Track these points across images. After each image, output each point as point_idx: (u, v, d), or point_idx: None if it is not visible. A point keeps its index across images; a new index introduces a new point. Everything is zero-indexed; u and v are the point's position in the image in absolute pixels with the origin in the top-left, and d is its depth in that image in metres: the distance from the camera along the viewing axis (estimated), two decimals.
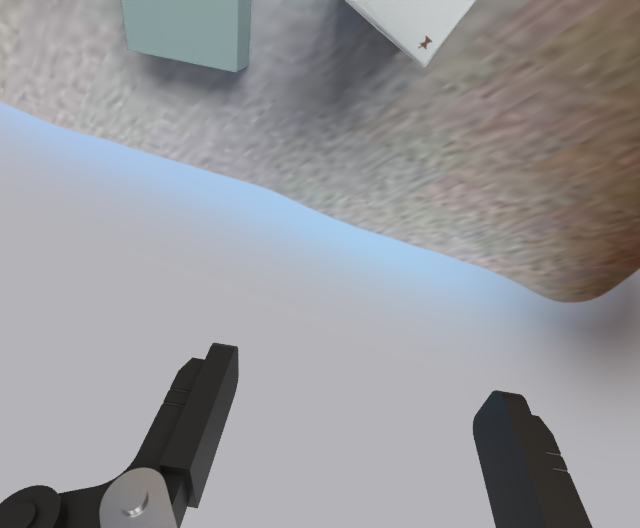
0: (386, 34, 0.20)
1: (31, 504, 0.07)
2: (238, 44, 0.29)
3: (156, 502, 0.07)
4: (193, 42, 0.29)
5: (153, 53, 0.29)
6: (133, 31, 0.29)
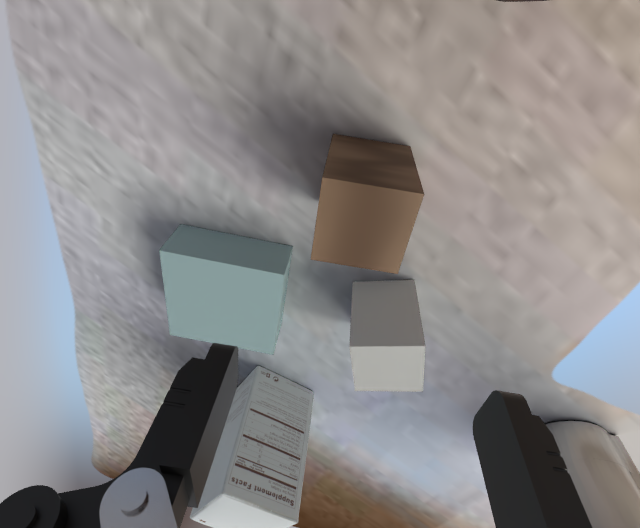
0: (201, 509, 0.30)
1: (31, 504, 0.07)
2: (193, 337, 0.31)
3: (156, 502, 0.07)
4: (185, 309, 0.29)
5: (163, 273, 0.27)
6: (179, 261, 0.26)
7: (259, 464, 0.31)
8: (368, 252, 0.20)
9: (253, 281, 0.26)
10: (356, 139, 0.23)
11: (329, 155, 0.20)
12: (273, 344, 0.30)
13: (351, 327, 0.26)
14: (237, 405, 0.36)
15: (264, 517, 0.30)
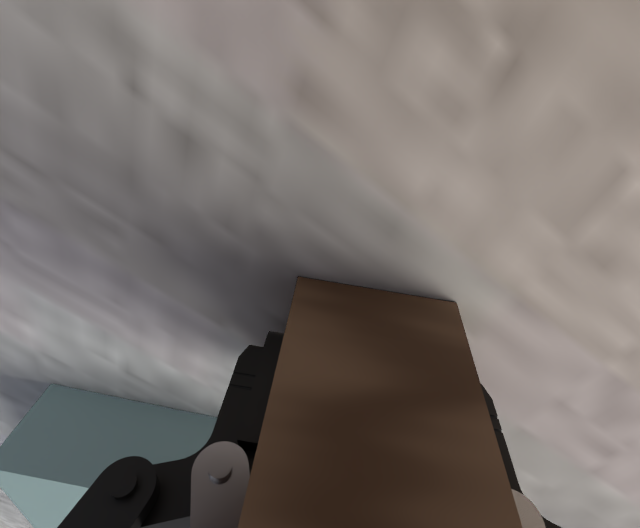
0: None
1: (130, 472, 0.07)
2: None
3: (240, 472, 0.08)
4: (58, 524, 0.17)
5: (5, 490, 0.15)
6: (26, 482, 0.14)
7: None
8: None
9: None
10: (345, 293, 0.11)
11: (276, 386, 0.08)
12: None
13: None
14: None
15: None
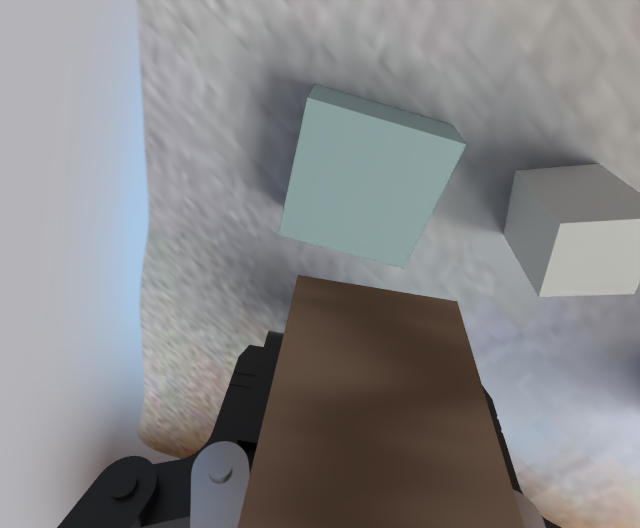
0: None
1: (130, 473, 0.07)
2: (306, 240, 0.25)
3: (241, 472, 0.08)
4: (311, 196, 0.23)
5: (301, 137, 0.20)
6: (329, 117, 0.20)
7: None
8: None
9: (420, 154, 0.20)
10: (346, 292, 0.11)
11: (276, 384, 0.08)
12: (409, 253, 0.24)
13: (548, 207, 0.20)
14: None
15: None
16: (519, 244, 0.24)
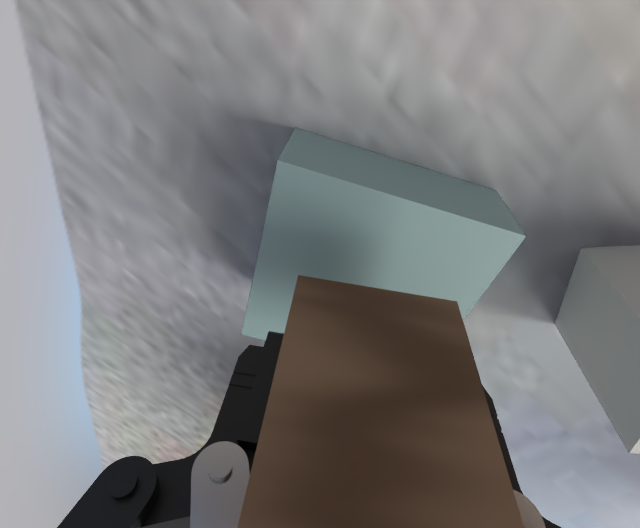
0: None
1: (130, 473, 0.07)
2: None
3: (240, 472, 0.08)
4: (287, 291, 0.15)
5: (269, 215, 0.13)
6: (313, 190, 0.12)
7: None
8: None
9: (452, 245, 0.13)
10: (346, 291, 0.11)
11: (276, 384, 0.08)
12: None
13: None
14: None
15: None
16: (587, 355, 0.17)
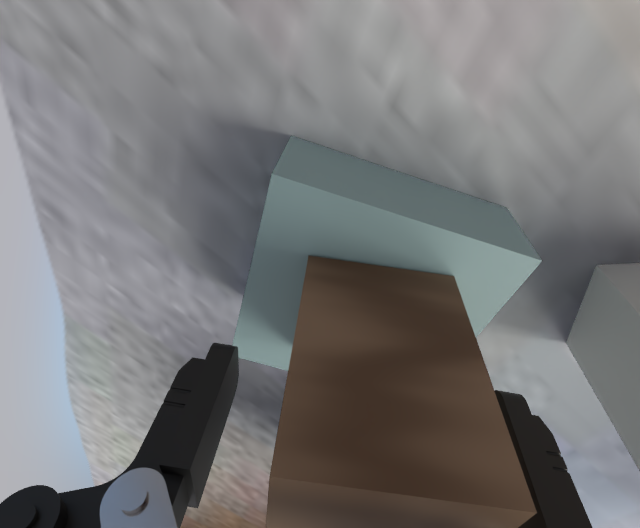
0: None
1: (31, 504, 0.07)
2: (273, 362, 0.16)
3: (156, 502, 0.07)
4: (280, 312, 0.14)
5: (262, 232, 0.12)
6: (310, 207, 0.11)
7: None
8: None
9: (462, 269, 0.12)
10: (353, 269, 0.12)
11: (296, 346, 0.09)
12: None
13: None
14: None
15: None
16: (604, 380, 0.15)
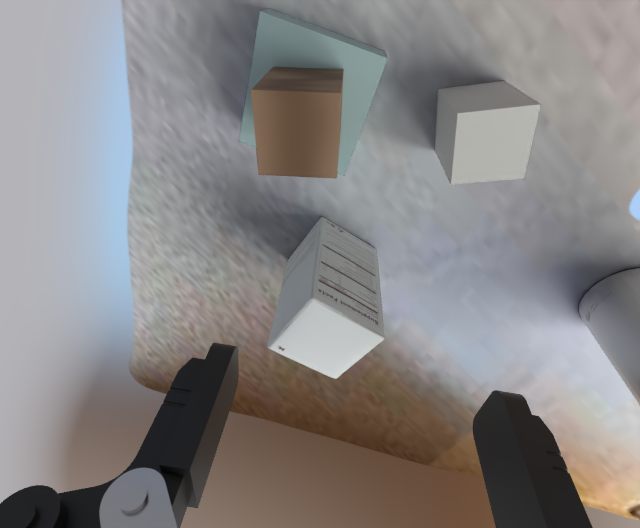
0: (283, 330, 0.29)
1: (31, 504, 0.07)
2: None
3: (156, 502, 0.07)
4: None
5: (255, 47, 0.25)
6: (278, 30, 0.24)
7: (341, 286, 0.30)
8: (306, 159, 0.22)
9: (352, 66, 0.25)
10: (293, 68, 0.25)
11: (263, 78, 0.22)
12: (348, 160, 0.29)
13: (453, 106, 0.25)
14: (304, 251, 0.35)
15: (351, 332, 0.29)
16: (441, 150, 0.29)
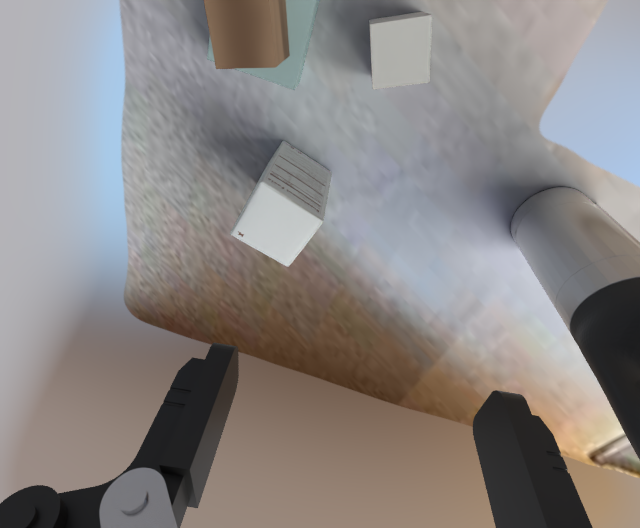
0: (241, 215, 0.36)
1: (31, 504, 0.07)
2: None
3: (156, 502, 0.07)
4: None
5: None
6: None
7: (290, 182, 0.37)
8: (250, 52, 0.29)
9: None
10: None
11: None
12: (296, 75, 0.36)
13: (370, 22, 0.31)
14: None
15: (295, 215, 0.35)
16: None
